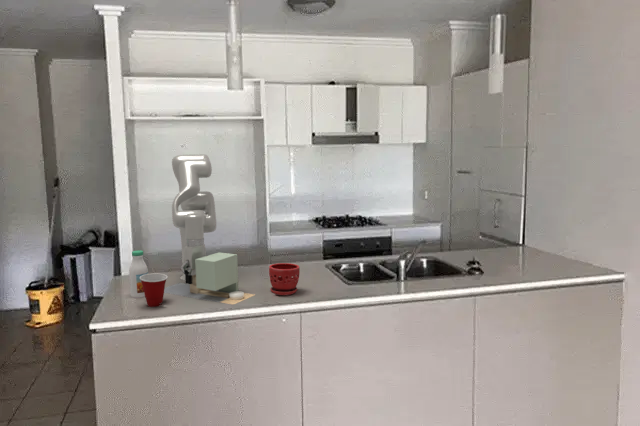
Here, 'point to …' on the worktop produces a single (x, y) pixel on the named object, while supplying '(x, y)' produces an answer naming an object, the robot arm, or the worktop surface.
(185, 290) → the board
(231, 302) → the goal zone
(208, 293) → the block
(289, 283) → the plant pot
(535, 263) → the worktop surface
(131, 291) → the milk bottle
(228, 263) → the shelf block
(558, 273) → the worktop surface
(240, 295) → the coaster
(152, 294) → the plastic cup
